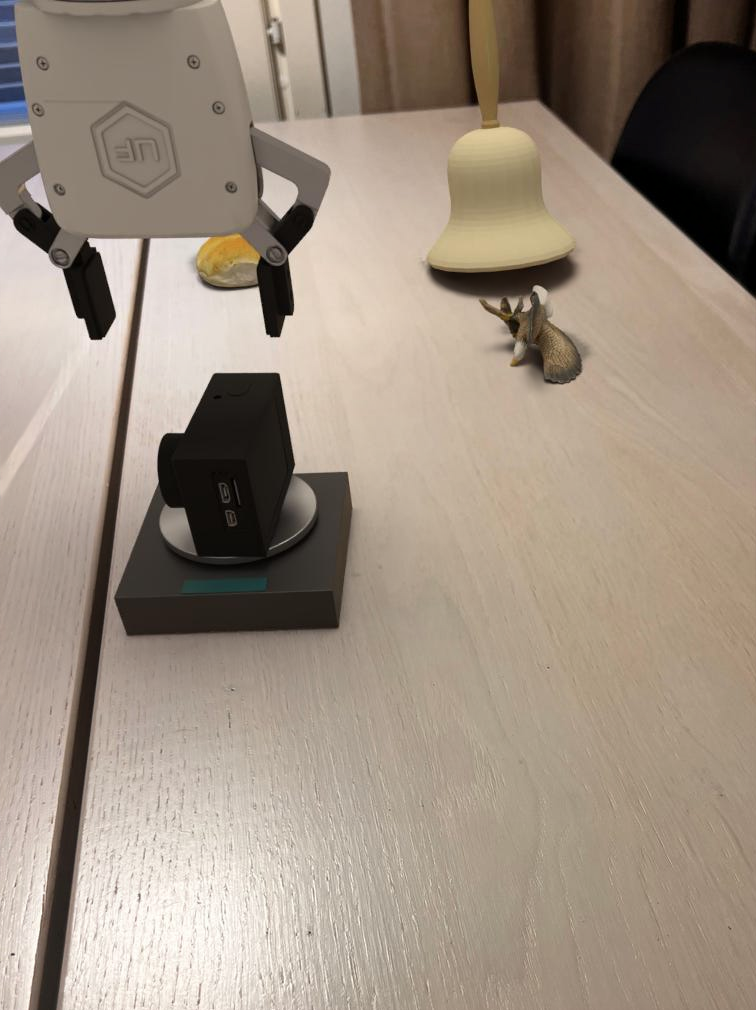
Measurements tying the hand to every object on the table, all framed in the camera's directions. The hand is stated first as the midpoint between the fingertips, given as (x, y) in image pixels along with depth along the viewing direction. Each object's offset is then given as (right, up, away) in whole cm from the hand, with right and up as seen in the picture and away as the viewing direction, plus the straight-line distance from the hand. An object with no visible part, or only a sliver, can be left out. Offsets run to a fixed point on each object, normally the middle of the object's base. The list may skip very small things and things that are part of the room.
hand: (190, 328), depth 55 cm
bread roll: (-9, +20, +47) cm, 52 cm away
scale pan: (+1, -10, +8) cm, 13 cm away
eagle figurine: (+21, +7, +31) cm, 38 cm away
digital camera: (+1, -9, +8) cm, 12 cm away
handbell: (+18, +21, +47) cm, 54 cm away
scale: (+1, -13, +10) cm, 16 cm away
